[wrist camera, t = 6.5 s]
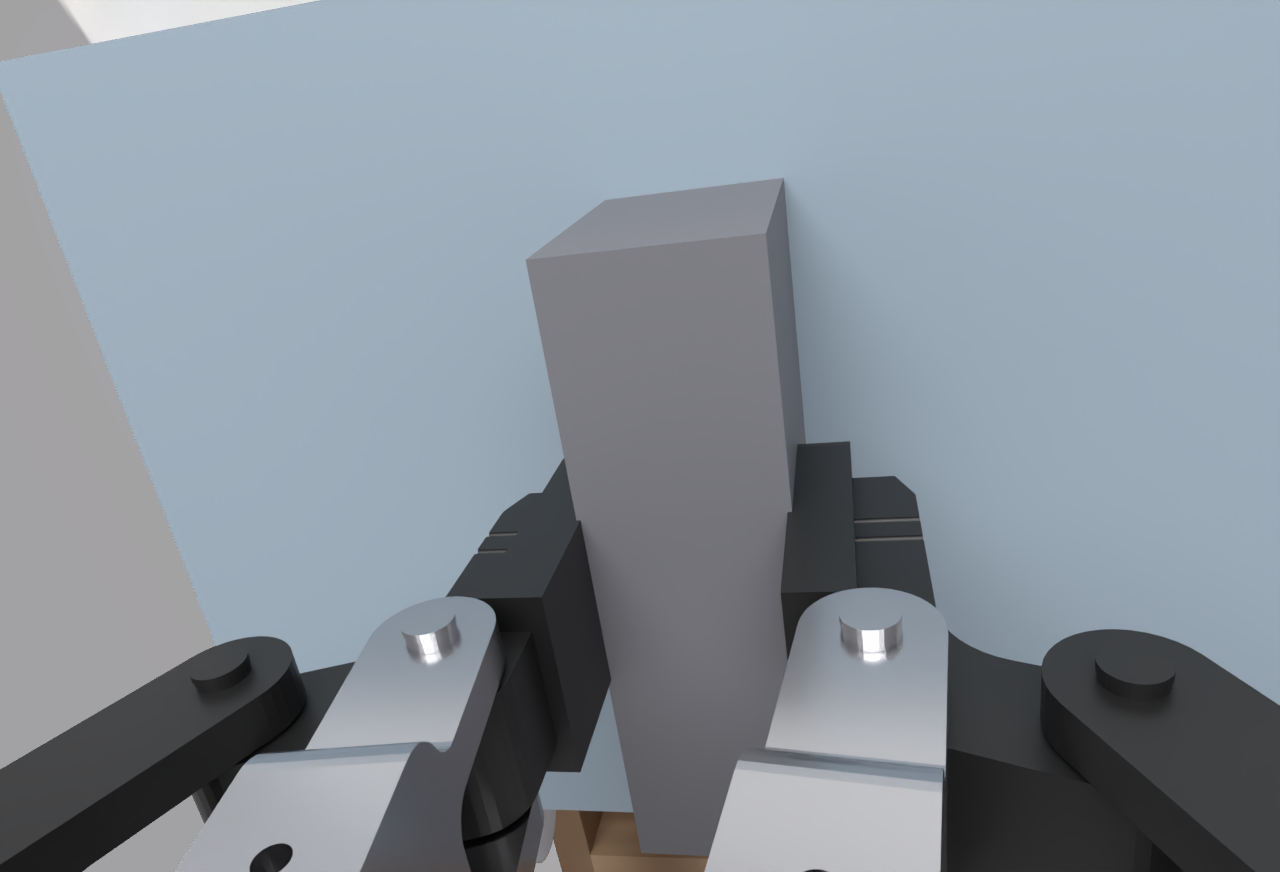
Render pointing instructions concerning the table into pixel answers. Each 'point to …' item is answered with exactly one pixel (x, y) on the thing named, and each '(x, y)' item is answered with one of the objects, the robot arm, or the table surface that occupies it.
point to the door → (691, 319)
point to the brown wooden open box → (611, 845)
